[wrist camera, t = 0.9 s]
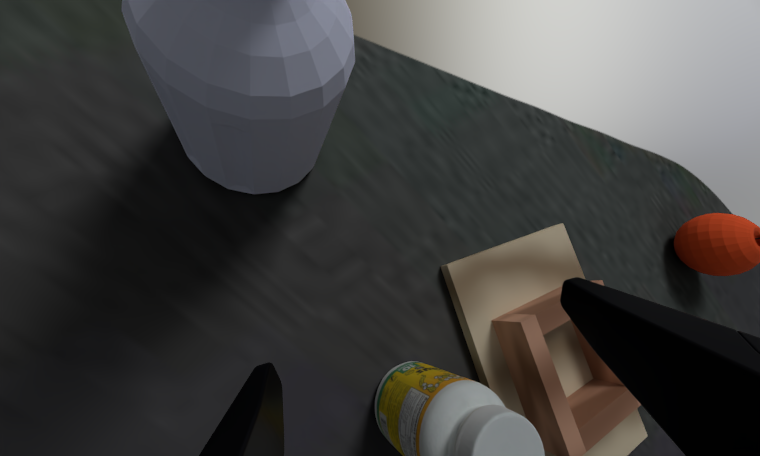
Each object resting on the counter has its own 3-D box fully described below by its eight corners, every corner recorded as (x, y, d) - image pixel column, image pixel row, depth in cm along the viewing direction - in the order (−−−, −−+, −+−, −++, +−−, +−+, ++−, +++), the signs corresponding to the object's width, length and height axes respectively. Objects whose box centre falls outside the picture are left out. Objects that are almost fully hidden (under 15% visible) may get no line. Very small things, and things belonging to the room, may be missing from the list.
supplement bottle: (360, 431, 20) (438, 528, 11) (388, 348, 22) (474, 377, 13) (429, 454, 21) (547, 558, 13) (450, 374, 23) (566, 416, 14)
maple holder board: (635, 431, 28) (690, 450, 25) (530, 528, 23) (582, 570, 19) (554, 225, 31) (593, 214, 27) (440, 266, 25) (471, 259, 21)
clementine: (700, 237, 40) (786, 224, 33) (703, 289, 37) (796, 286, 31) (659, 212, 38) (742, 193, 31) (659, 266, 35) (749, 257, 29)
